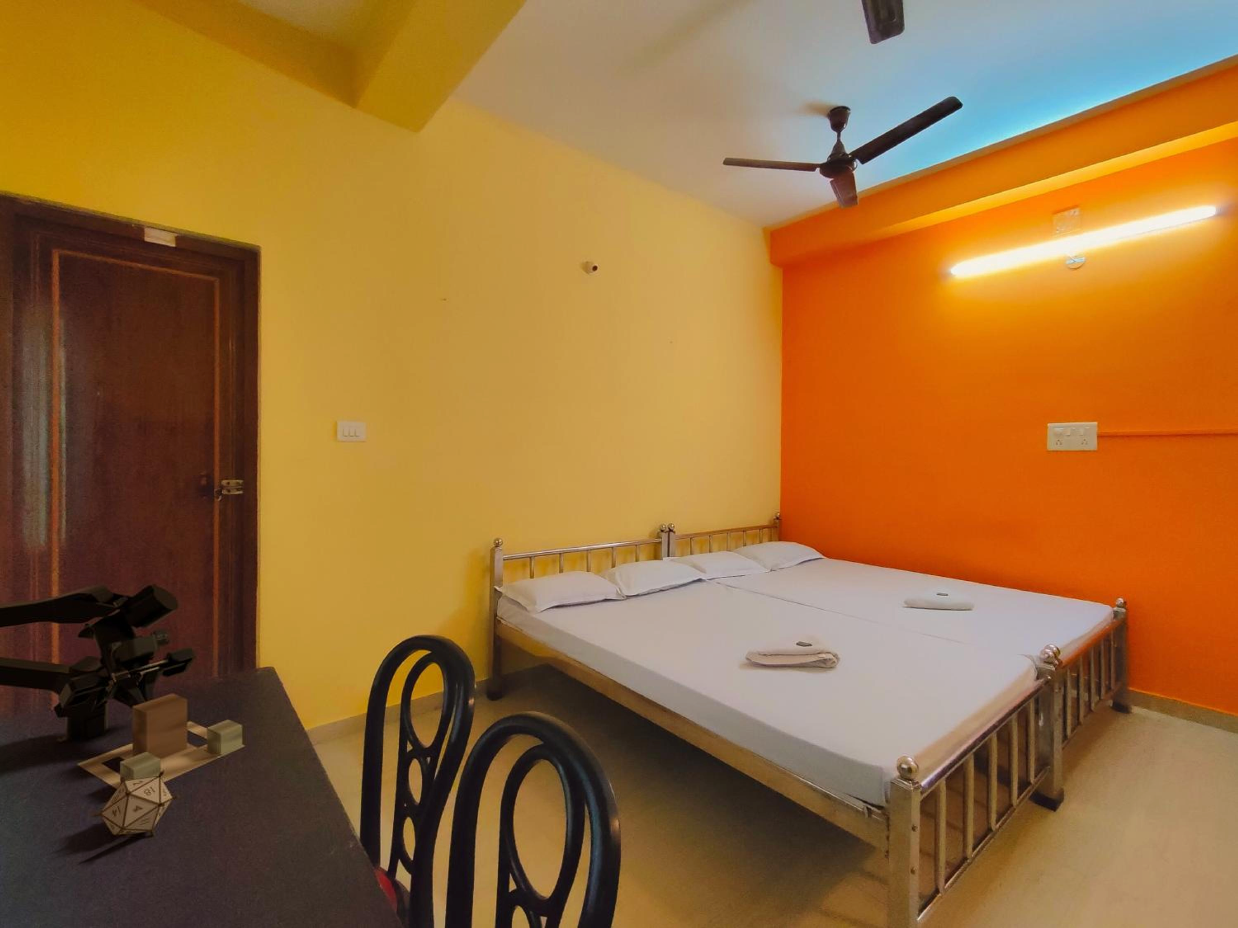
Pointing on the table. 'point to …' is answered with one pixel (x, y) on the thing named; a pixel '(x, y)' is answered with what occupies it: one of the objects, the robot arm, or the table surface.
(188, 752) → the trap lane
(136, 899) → the table surface
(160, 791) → the game die
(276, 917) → the table surface
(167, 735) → the walnut block
